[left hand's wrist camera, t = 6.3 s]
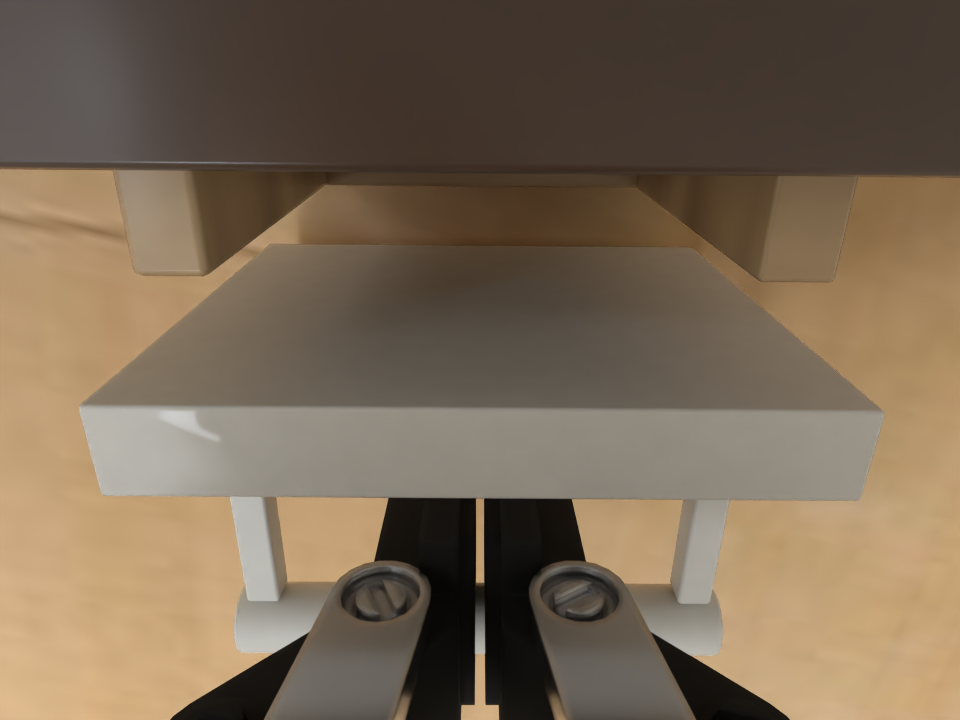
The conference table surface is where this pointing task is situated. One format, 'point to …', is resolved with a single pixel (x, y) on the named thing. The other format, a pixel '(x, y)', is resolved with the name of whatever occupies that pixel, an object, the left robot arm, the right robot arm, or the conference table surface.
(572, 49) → the cabinet
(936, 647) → the conference table surface
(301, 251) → the drawer
